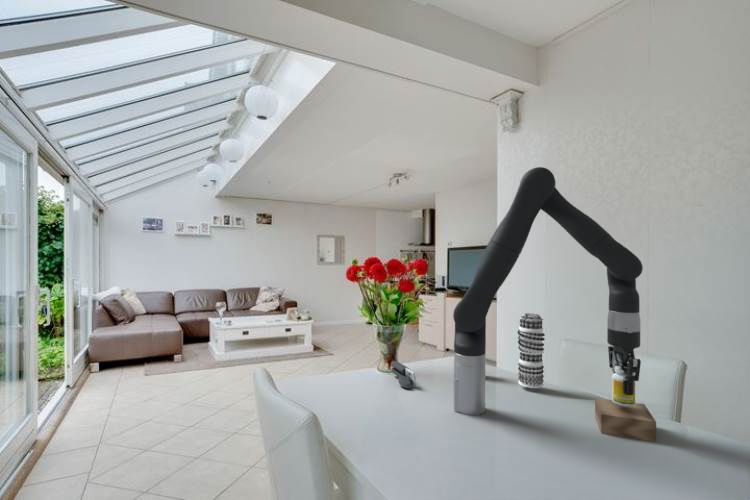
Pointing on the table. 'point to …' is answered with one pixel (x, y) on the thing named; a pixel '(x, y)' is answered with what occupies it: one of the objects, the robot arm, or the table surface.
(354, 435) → the table surface
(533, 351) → the decorative candle
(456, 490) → the table surface
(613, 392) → the supplement bottle
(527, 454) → the table surface
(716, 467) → the table surface
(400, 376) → the can opener
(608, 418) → the brown wooden block
